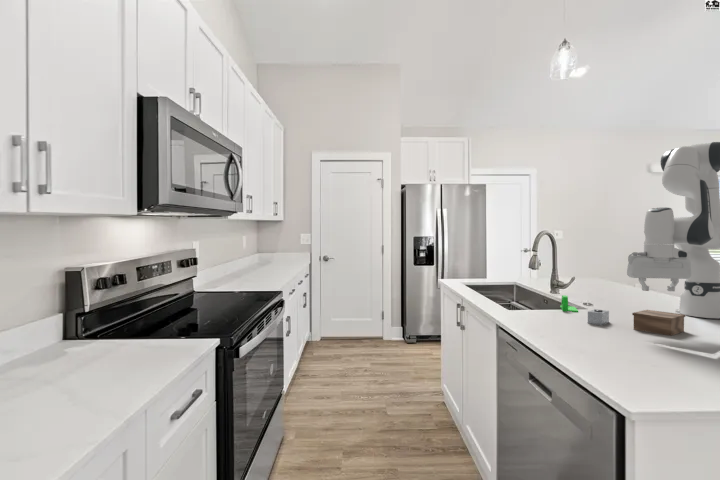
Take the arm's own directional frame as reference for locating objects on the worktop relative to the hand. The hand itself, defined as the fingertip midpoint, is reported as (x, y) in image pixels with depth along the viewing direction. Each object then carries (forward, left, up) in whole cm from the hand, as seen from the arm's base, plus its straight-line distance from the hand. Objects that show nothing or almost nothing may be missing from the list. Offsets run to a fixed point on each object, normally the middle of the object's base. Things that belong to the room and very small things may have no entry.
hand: (658, 291), depth 146 cm
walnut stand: (0, 0, -14) cm, 14 cm away
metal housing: (+6, -18, -14) cm, 24 cm away
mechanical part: (-9, -38, -15) cm, 41 cm away
